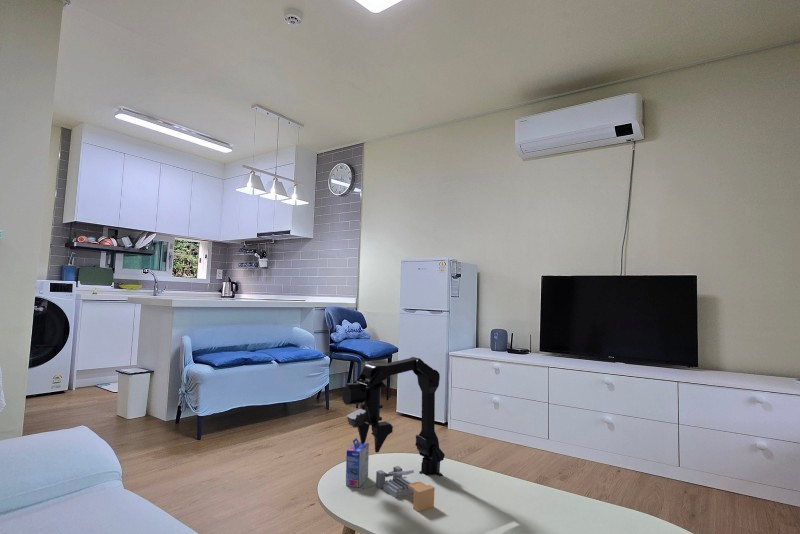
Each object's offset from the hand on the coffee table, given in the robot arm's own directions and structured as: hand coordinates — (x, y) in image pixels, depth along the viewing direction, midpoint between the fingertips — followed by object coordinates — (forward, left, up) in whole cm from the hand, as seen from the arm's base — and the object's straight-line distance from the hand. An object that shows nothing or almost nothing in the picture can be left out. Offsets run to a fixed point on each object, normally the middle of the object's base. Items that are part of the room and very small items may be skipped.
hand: (369, 448), depth 147 cm
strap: (-8, +7, -9) cm, 14 cm away
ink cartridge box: (-1, -9, -15) cm, 17 cm away
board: (-8, +10, -15) cm, 19 cm away
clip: (-8, +18, -13) cm, 24 cm away
